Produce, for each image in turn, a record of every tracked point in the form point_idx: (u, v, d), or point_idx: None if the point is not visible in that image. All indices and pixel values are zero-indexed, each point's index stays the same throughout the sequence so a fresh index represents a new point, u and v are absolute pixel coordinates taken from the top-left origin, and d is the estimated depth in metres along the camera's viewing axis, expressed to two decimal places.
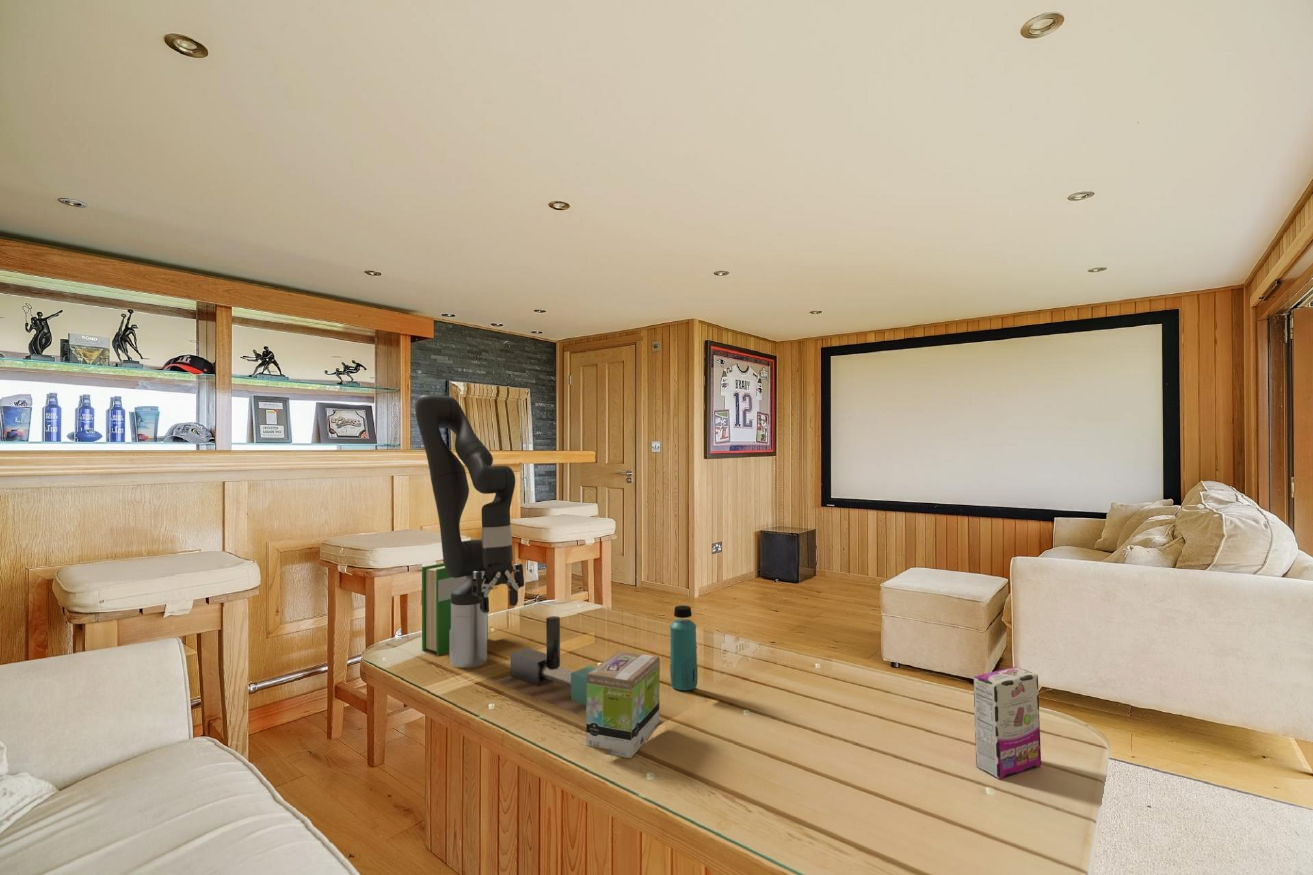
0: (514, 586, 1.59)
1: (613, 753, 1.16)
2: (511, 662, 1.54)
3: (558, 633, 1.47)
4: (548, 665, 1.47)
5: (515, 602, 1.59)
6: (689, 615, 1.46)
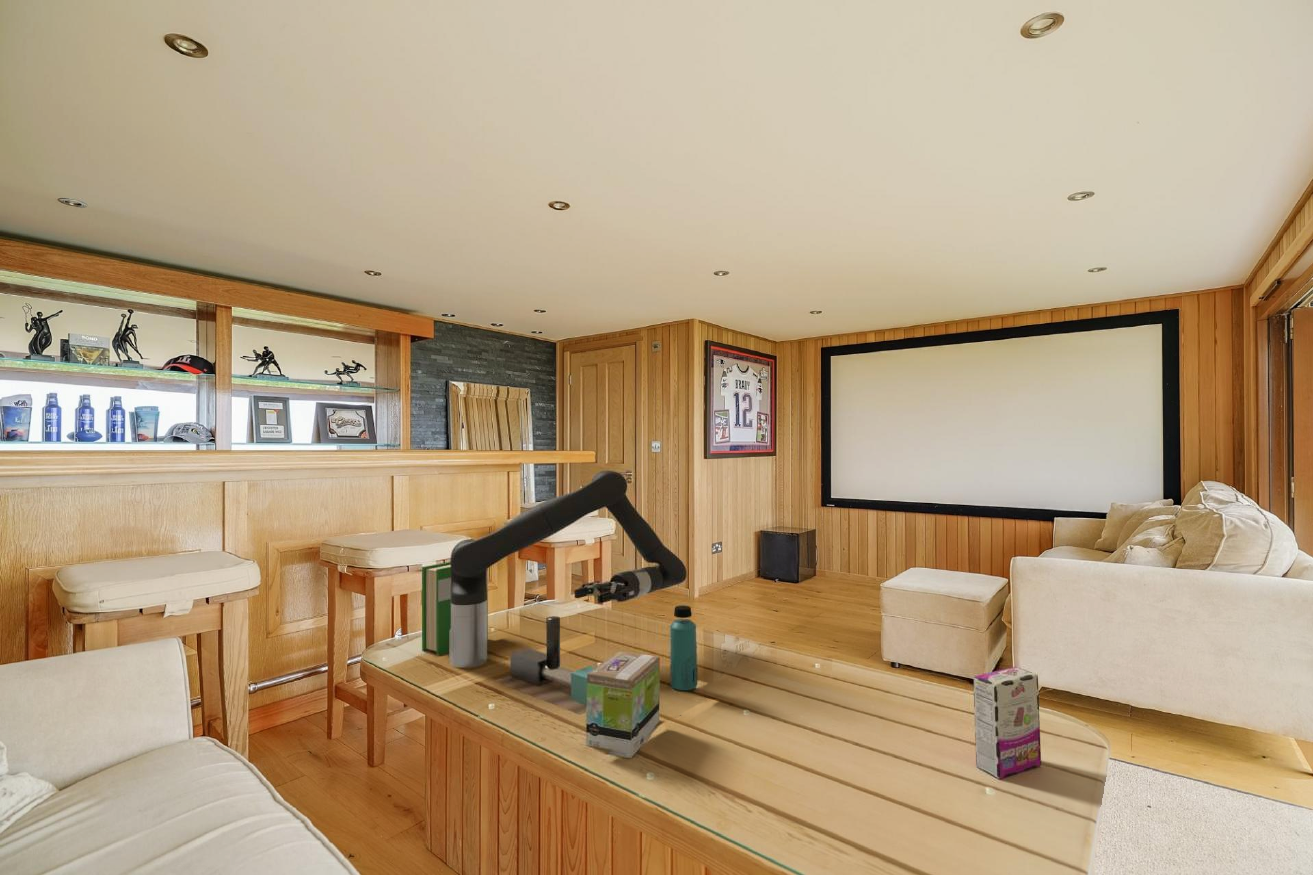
0: None
1: (613, 753, 1.16)
2: (511, 662, 1.54)
3: (558, 633, 1.47)
4: (548, 665, 1.47)
5: (578, 597, 1.60)
6: (689, 615, 1.46)
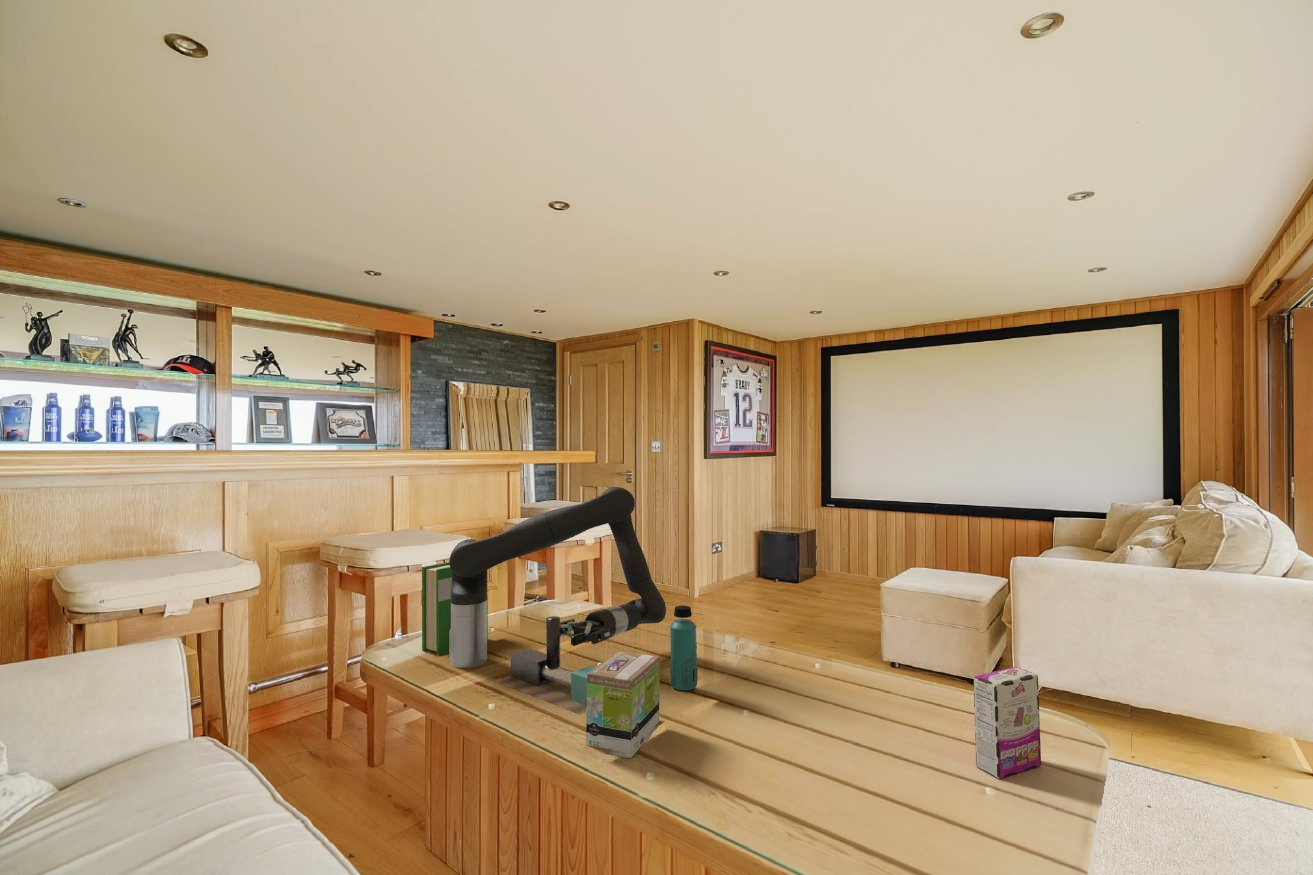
0: None
1: (613, 753, 1.16)
2: (511, 662, 1.54)
3: (558, 633, 1.47)
4: (548, 665, 1.47)
5: None
6: (689, 615, 1.46)
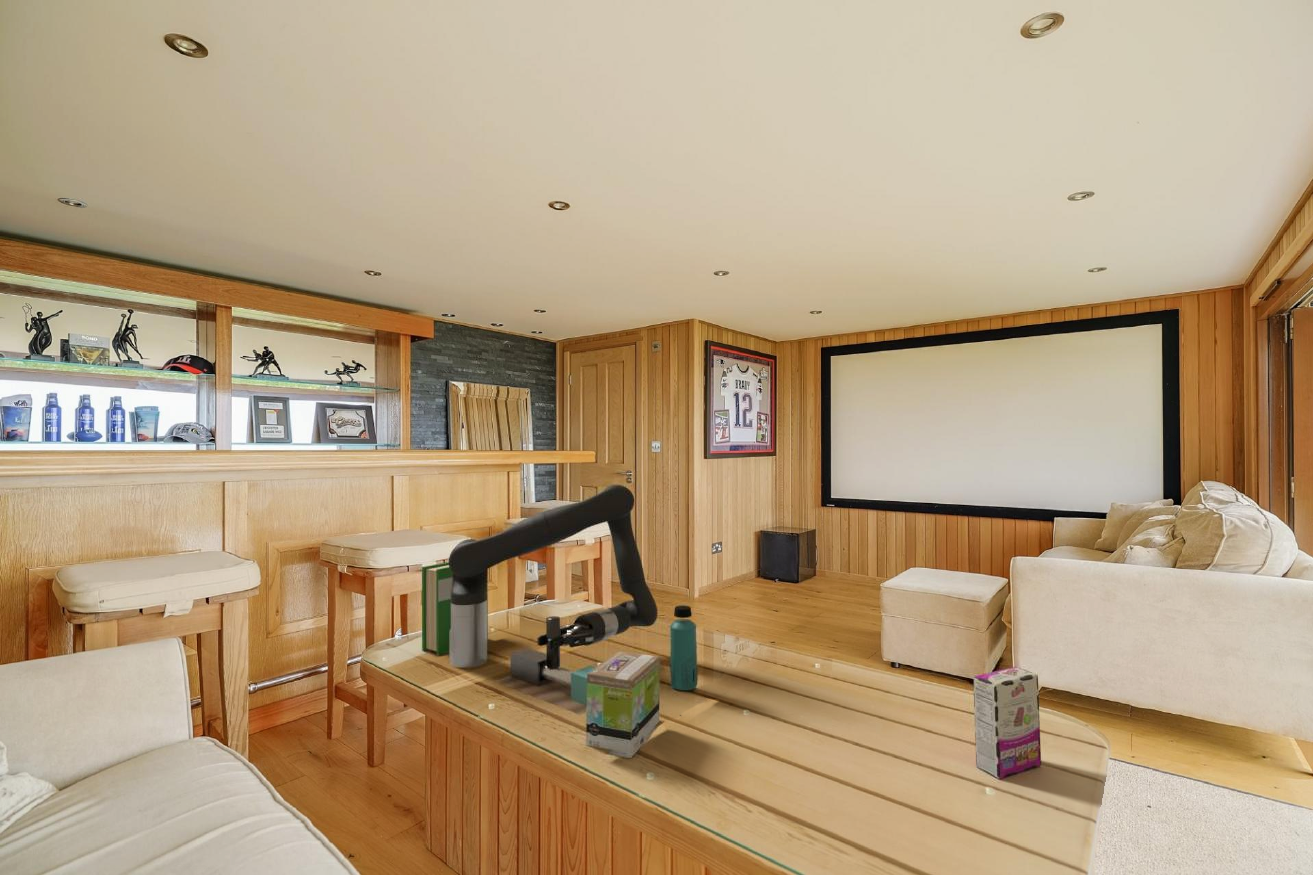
0: None
1: (613, 753, 1.16)
2: (511, 662, 1.54)
3: (558, 633, 1.47)
4: (548, 665, 1.47)
5: None
6: (689, 615, 1.46)
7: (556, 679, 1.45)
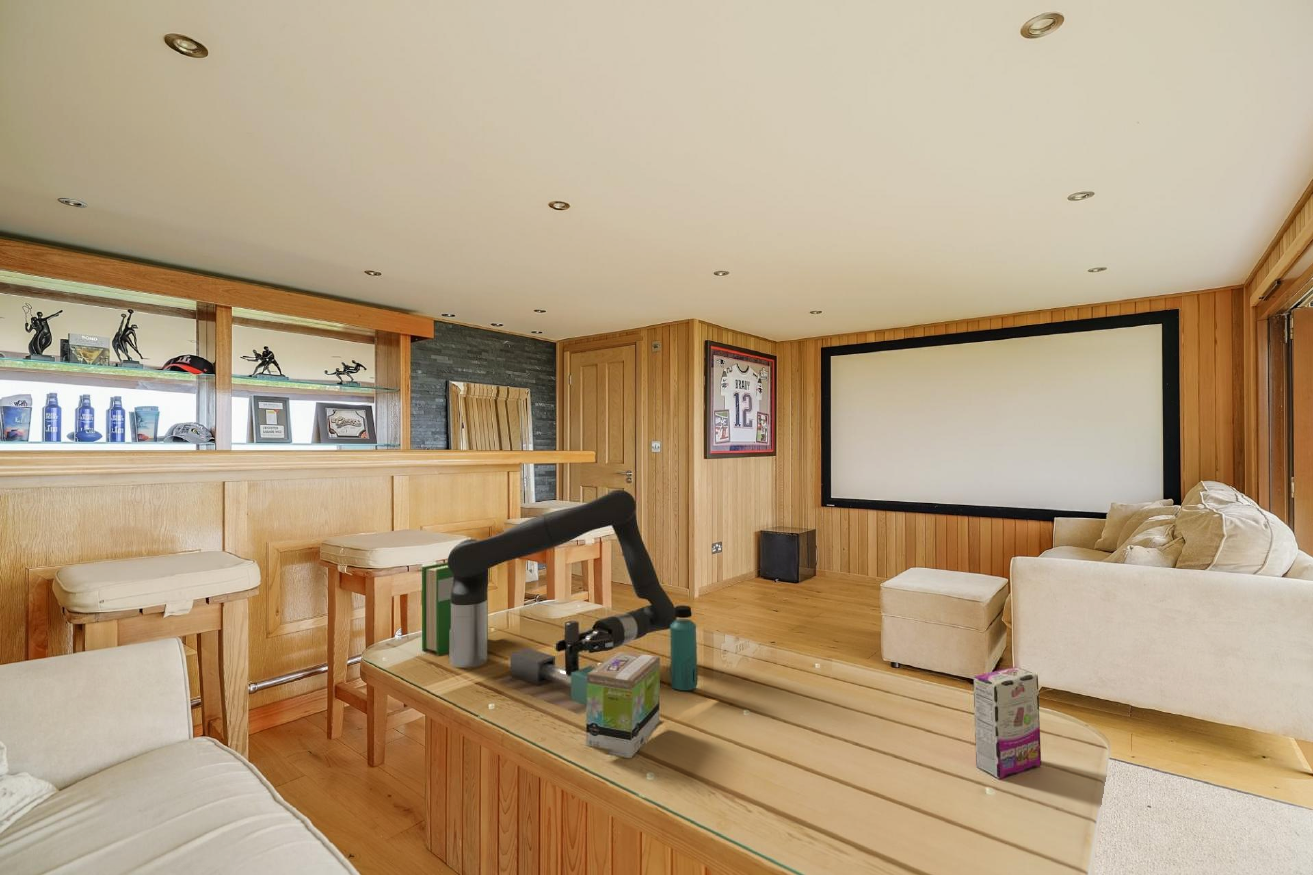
0: None
1: (613, 753, 1.16)
2: (511, 662, 1.54)
3: (577, 638, 1.43)
4: (567, 671, 1.42)
5: (560, 650, 1.43)
6: (689, 615, 1.46)
7: None
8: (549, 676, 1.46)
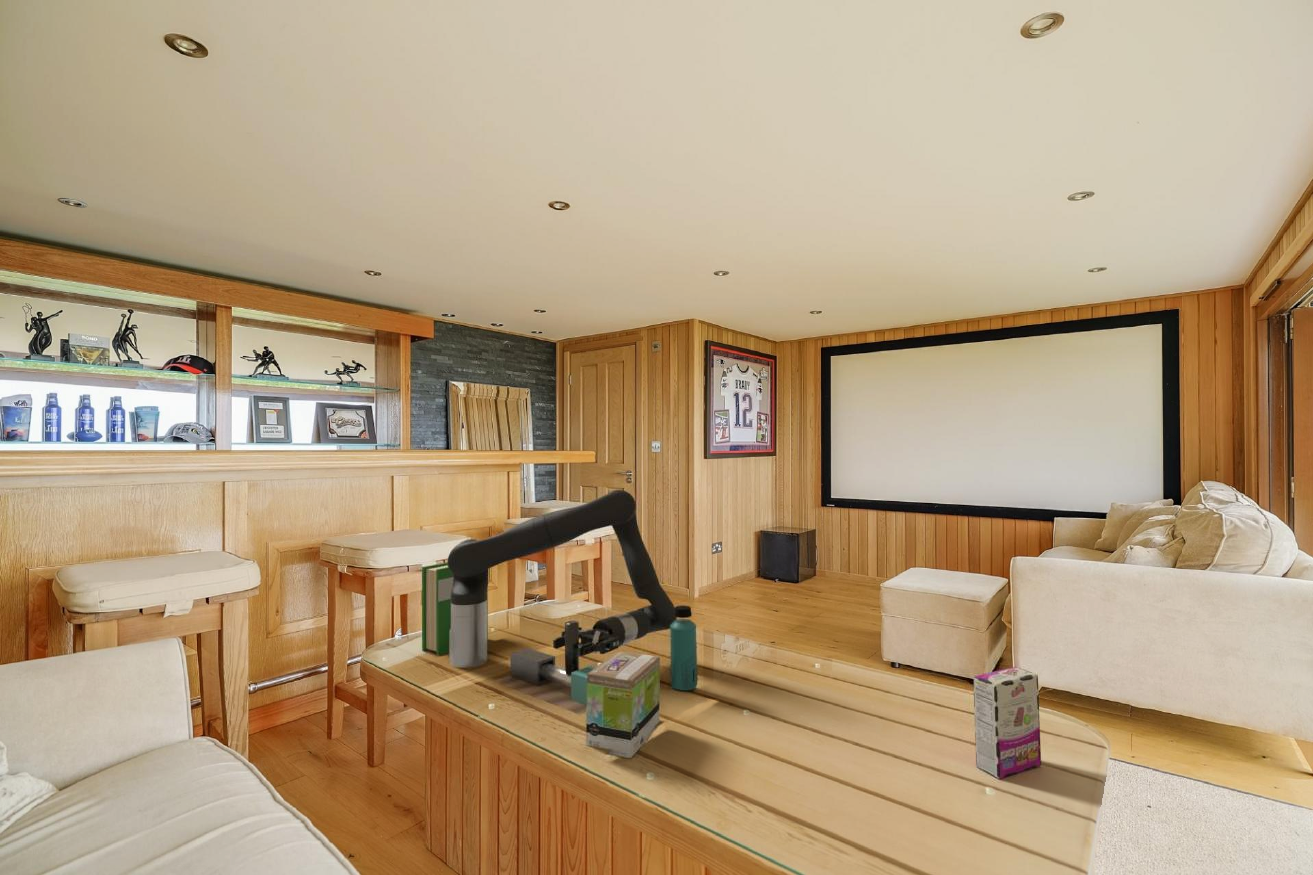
0: None
1: (613, 753, 1.16)
2: (511, 662, 1.54)
3: (577, 638, 1.43)
4: (567, 671, 1.42)
5: (557, 647, 1.45)
6: (689, 615, 1.46)
7: None
8: (549, 676, 1.46)
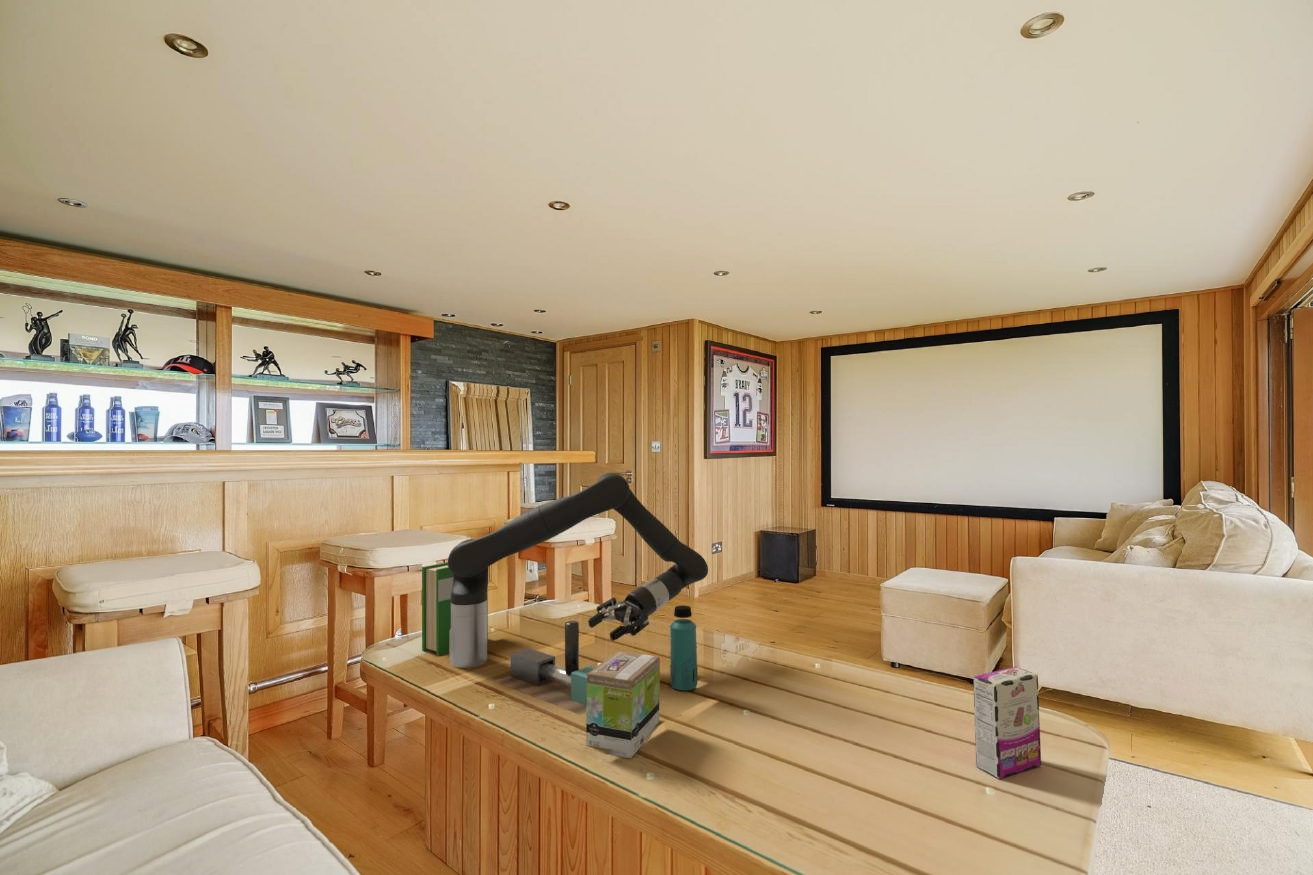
0: None
1: (613, 753, 1.16)
2: (511, 662, 1.54)
3: (577, 638, 1.43)
4: (567, 671, 1.42)
5: None
6: (689, 615, 1.46)
7: None
8: (549, 676, 1.46)
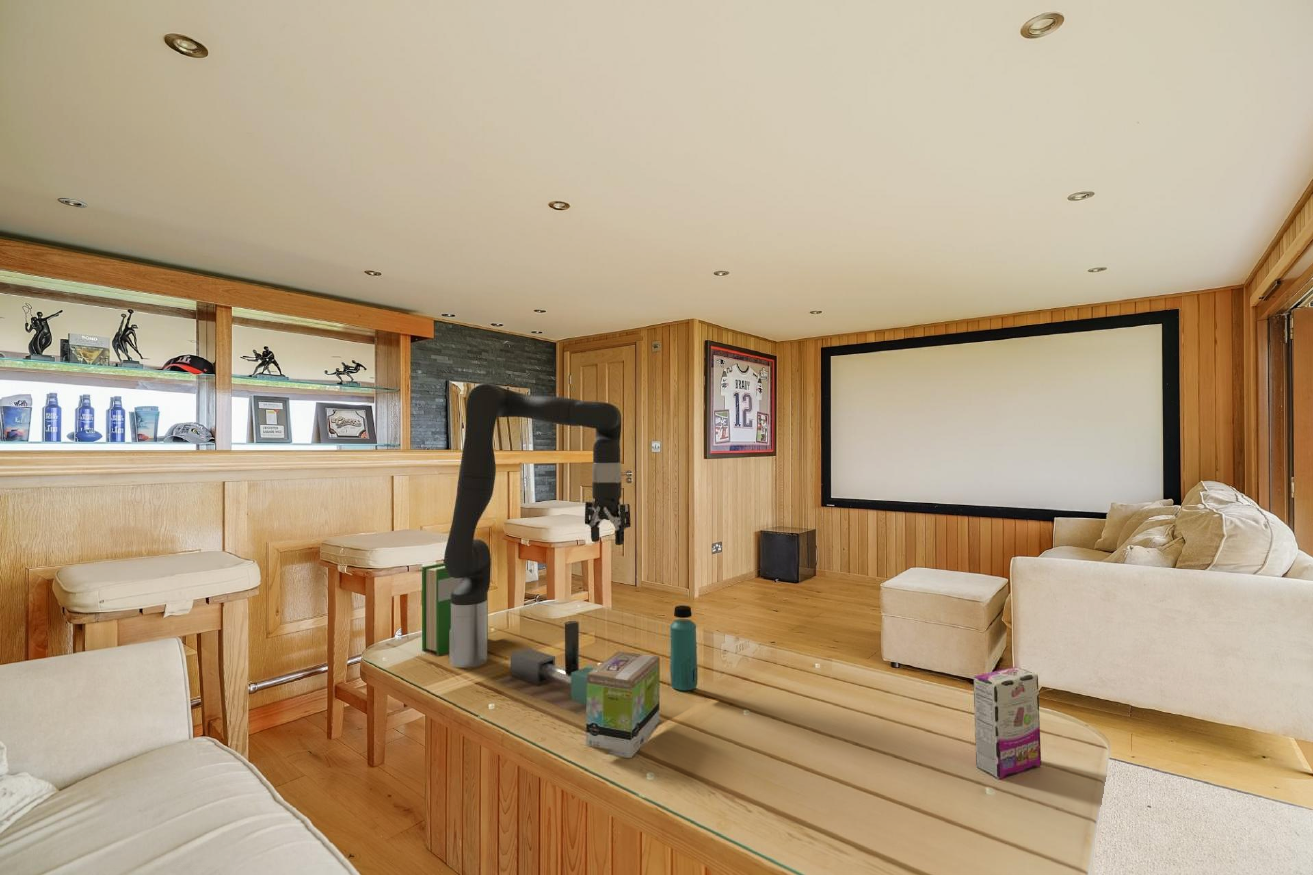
0: None
1: (613, 753, 1.16)
2: (511, 662, 1.54)
3: (577, 638, 1.43)
4: (567, 671, 1.42)
5: None
6: (689, 615, 1.46)
7: None
8: (549, 676, 1.46)
